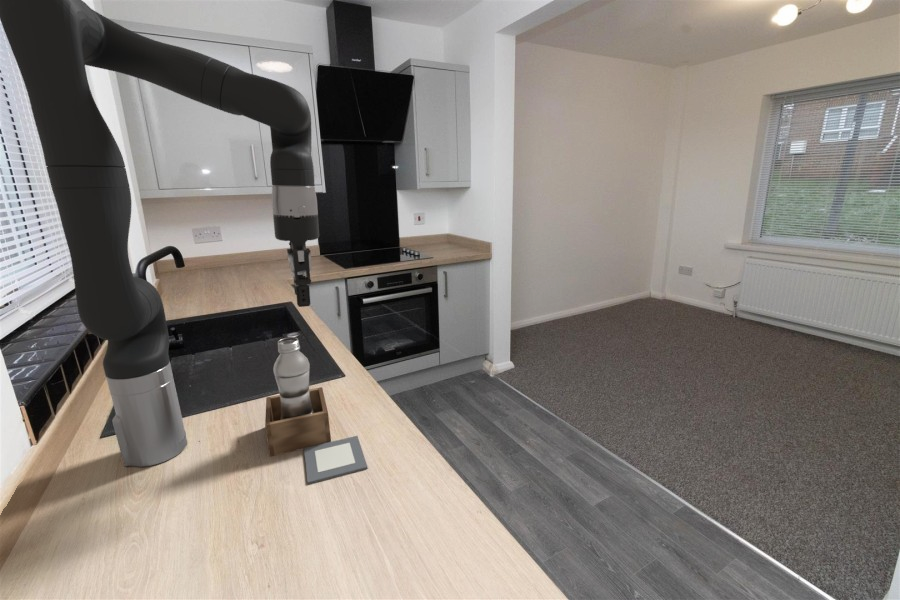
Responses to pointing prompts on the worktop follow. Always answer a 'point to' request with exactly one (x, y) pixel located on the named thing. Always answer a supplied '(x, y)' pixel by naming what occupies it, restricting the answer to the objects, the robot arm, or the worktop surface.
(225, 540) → the worktop surface
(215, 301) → the worktop surface
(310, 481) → the mat
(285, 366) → the plastic bottle
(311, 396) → the crate
